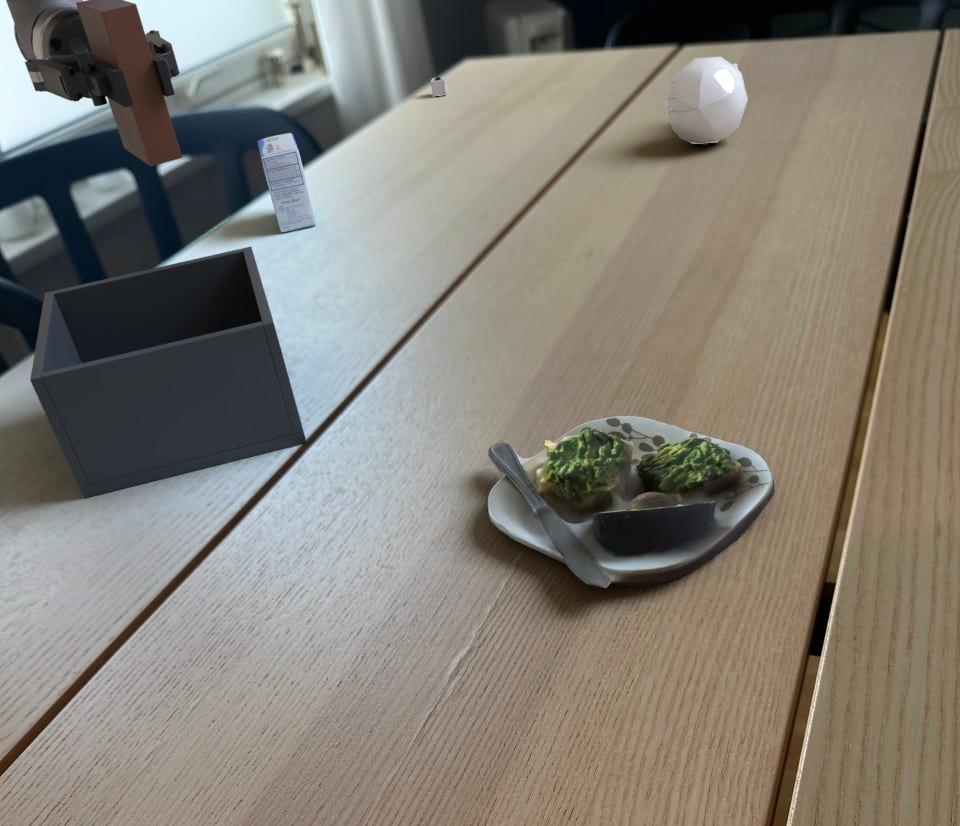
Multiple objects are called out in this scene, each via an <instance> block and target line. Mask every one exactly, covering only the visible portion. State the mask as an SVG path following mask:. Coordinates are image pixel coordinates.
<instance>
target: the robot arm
mask: <svg viewBox="0 0 960 826" xmlns="http://www.w3.org/2000/svg"><path fill="white" fill-rule="evenodd" d="M82 1H84V0H5V2H6V5H7V7H8V10H9V13H10V15H11V18H12V21H13V33H14V39H15V42H16V45H17V47H18V49H19V51H20V53H21V55H22V57H23V59H24V60H25V61H24V64H25V67H26V69H27V73H28V75H29V78H30V81H31V83H32V87H33V88H34V91H35V92H39V93H42V92H45V93H50V94H51V95H54V96H57V97H60V98H62V99H65V100H67V101H69V102H76V103H77V102H80V101H81V100H82V99H84V98H85V99H91V101H92V103H93V106H94V107H101V106H104V105H108V98H110V99H111V100H113V101H115V102H116V103H118V104H120V105H122V106H123V107H125V108H126V107H130V106H133V101H132V98H131V95H130V92H129V89H128V86H127V83H126V80H125V76H124V73H123V70H121V69H119V68H117V67H115V66H113V65H111V64H109V63H106V62H104V61H100V62H95V59H94V56H93V53H92V50H91V47H90V44H89V41H88V38H87V35H86V32H85V29H84V26H83V23H82V20H81V17H80V14H79V11H78V8H77V5H76V3H78V2H82ZM145 35H146V39H147V42H148V45H149V49H150V52H151V55H152V59H153V63H154V66H155V69H156V72H157V76H158V79H159V82H160V86H161V89H162V92H163V95H164V97H166V98H167V97H171V96H175V95H176V93H175V90H174V86H173V83H172V80H171V79H173V78H176V77H177V76H179V75H180V74H181V73H180V69H179V66H178V62H177V59H176V55H175V51H174V48H173V45H172V43H171V42H169V41H168V40H166V39H164V38H163V37H161V33H160V31H159V30H155V29H152V30H149V31H148V32H146V33H145ZM107 97H108V98H107Z"/></svg>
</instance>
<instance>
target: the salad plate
mask: <svg viewBox="0 0 960 826" xmlns="http://www.w3.org/2000/svg"><path fill="white" fill-rule="evenodd" d="M542 444H543V446H544V447H545V448H544V449H542V450H541V451H540V452H538V453H536V454H535V455H533V456H532V457H525V458H524V457H521V456H520V455H518V454H517V452H516V451H515V449H514V448H513V447H512V446H511V444H510V443H508V442H498V443H495V444H493V445H491V446H490V447H488V454H487V455H488V457H489V459H490V461H491V463H493V465H494V466H495V468H496V470H497V471H498V473H499V477H500V478H499V480H497V482H496V483H495V484H494V485H493V487H492V488H491V490H490V491H489V494H488V498H487V508H488V517H489V520H490V522H491V523H492V524H493V525H494V526H495V527H496V528H497V529H498V530H499V531H501V532H502V533H503V534H505V535H506V536H508V537H509V538H511V539H512V540H514V541H516V542H518V543H520V544H522V545H524V546H526V547H528V548H530V549H533V550H535V551H537V552H539V553H542V554H544V555H546V556H547V557H550V558H552V559H553V560H556V561H559V562H560V563H563V564H564V565H566V567H567V568H568V569H569V571H570V572H572V574H574V575H575V576H576V577H577V578H578V579H580V580H581V581H582V582H583V583H584V584H586V585H589V586H593V587H598V588H601V589H607V588H608V587H609V585H610V584H613V585H617V586H626V587H627V586H628V587H640V586H642V587H643V586H650V585H657V584H663V583H668V582H671V581H675V580H677V579H680V578H683V577H686V576H687V575H690V574H692V573H693V572H695V571H697V570H698V569H700V568H701V567H703V566H704V565H705V564H706V563H708V562H709V561H711V560H712V559H714V558H715V557H716V556H718V555H719V554H721V553H722V552H723V551H725V550H726V549H727V548H728V547H730V546H731V545H732V544H734V543H735V542H736V541H738V540H739V539H740V538H741V537H742V535H744V533H746V532H747V530H748V529H749V528H750V527H751V525H753V523H754V522H755V521H756V520H757V518H758V517H759V516H760V515H761V514H762V512H763V511H764V509H765V508H766V507H767V506H768V505H769V503H770V501H771V500H772V498H773V497H774V495H775V491H776V490H775V489H776V488H775V480H774V478H773V472H772V471H771V469H770V467H769V465H768V464H767V462H766V461H765V460H764V458H763V456H761V455H759V454H758V453H757V452H756V451H755V450H752V449H750V448H748V447H745V446H742V445H740V444H736V443H734V442H730V441H729V442H728V441H725V440H723V439H718V438H714V437H711V436H707V435H702V434H700V433H697V432H694V431H689V430H686V429H683V428H681V427H678V426H677V425H673V424H668V423H666V422H662V421H660V420H654V419H652V418H648V417H644V416H643V417H642V416H633V415H619V416H612V417H606V418H605V417H604V418H601V419H595V420H590V421H588V422H583V423H581V424H579V425H577V426H575V427H573V428H572V429H570V430H569V431H567V432H566V433H564V434H563V435H561V436H560V437H559V438H558V439H556V440H555V441H553V442H552V440H551V439H550V438H546V439H545V440H544V441H543V442H542Z"/></svg>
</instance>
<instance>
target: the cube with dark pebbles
mask: <svg viewBox="0 0 960 826" xmlns="http://www.w3.org/2000/svg"><path fill="white" fill-rule="evenodd" d="M430 87H431V93H432V97H433V96H438V95H443V94H446V92H447V93H448V85H447V79H446V76H442V77H441V76H437V77H433V78H431V81H430Z"/></svg>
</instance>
